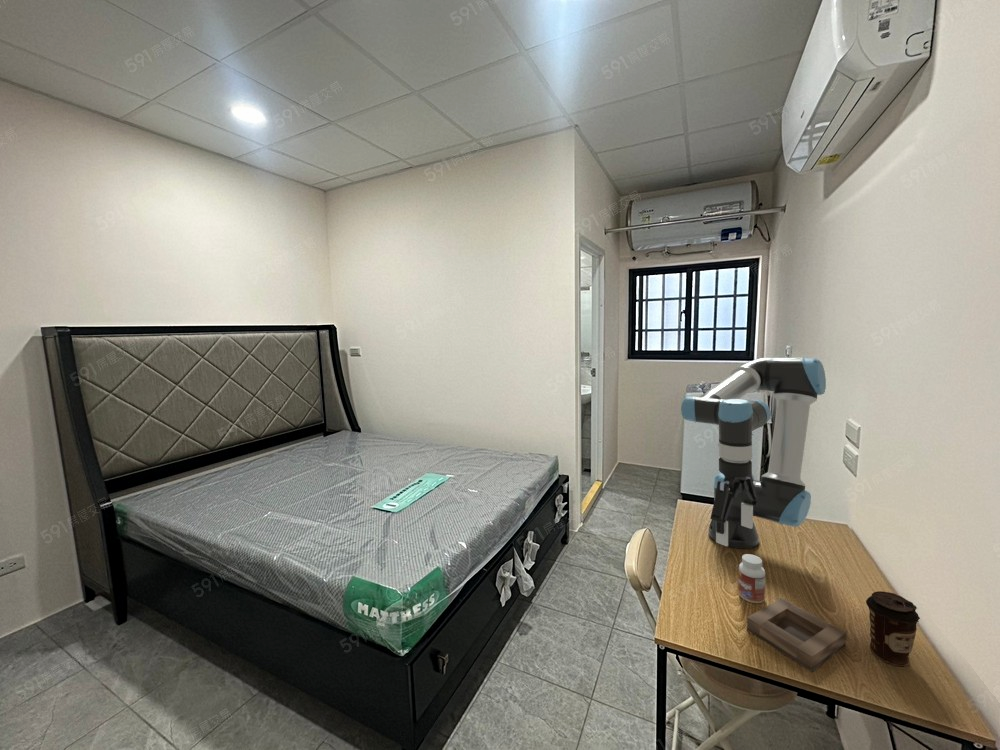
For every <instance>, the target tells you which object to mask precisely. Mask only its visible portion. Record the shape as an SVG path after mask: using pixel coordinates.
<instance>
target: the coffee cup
mask: <svg viewBox="0 0 1000 750" xmlns="http://www.w3.org/2000/svg"><path fill="white" fill-rule="evenodd" d="M865 604H866V605H867V607H868V611H869V612H868V613H869V614H868V615H869V624H870V625H869V626H870V627H869V631H870V632H869V636H870V643H869V648H870V650H871V653H872V654H873V655H874V656H876V657H877V658H878V659H880V660H881V661H883V662H884V663H888V664H891V665H894V666H897V667H898V666H900V667H902V666H903V667H904V666H907V665H909V663H910V658H909V657H910V654H911V653H912V651H913V647H914V643H915V641H914V640H915V639H916V633H917V623H918V622H919V620H920V619H921V618H920V616H919V614H918V613H917V611H916V610H918V607H917V606H916V605H915V604H914V603H913V602H912V601H910V600H908V599H906V598H905V597H903V596H901V595H899V594H897V593H894V592H893V593H892V592H889V591H874V592H873V593H871V596H869V597H868V598H866V601H865Z"/></svg>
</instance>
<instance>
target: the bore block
mask: <svg viewBox="0 0 1000 750" xmlns="http://www.w3.org/2000/svg"><path fill="white" fill-rule="evenodd" d="M746 620H747V621H746V631H747V632H749V633H750V634H751V635H753V636H755V637H756V638H758V639H760V640H762V641H763V642H765V644H768V645H769V646H771V647H772V648H773V649H776V651H778V652H780V653H781V654H783V655H784V656H787V657H788V658H789V659H791V660H792V661H794V662H796V663H797V664H799V665H800V666H802V667H803V666H804V667H803V668H805V669H806V668H807V669H806V670H808V669H809V670H808V671H809V672H811V671H812V672H814V671H815V670H817V669H818V668H819V667H821V665H823V664H824V663H826V662H827V661H828V660H830V659H831V658H833V656H835V655H836V654H838V653H839V652H841V651H842V650H843V649H845V648H846V647H847V631H845V630H842V629H841V628H839V627H837V626H835V625H834V624H831V623H829V622H828V621H825V620H824V619H822V618H820V617H818V616H816V615H814V614H812V613H811V612H809V611H807V610H805V609H803V608H801V607H799V606H797V605H795V604H794V603H791V602H790V601H787V600H786V599H784V598H782V597H780V598H779V599H777V600H775V601H773V602H772V603H770V604H768V605H766V606H764V607H763V608H761V609H759V610H757V611H756V612H753V613H752V614H750V615H749V616H747V617H746ZM813 670H814V671H813Z"/></svg>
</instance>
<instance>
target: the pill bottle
mask: <svg viewBox="0 0 1000 750" xmlns="http://www.w3.org/2000/svg"><path fill="white" fill-rule="evenodd" d="M738 595H739V597H741V599H743V600H744V601H746V602H749V603H752V604H760V603H763V602H764V601H765V598H766V570H765V569H764V567H763V560H762V558H761V557H759V556H757V555H755V554H750V553H745V554H742V556H741V562H740V563H739V566H738Z"/></svg>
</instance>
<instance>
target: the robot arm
mask: <svg viewBox="0 0 1000 750" xmlns="http://www.w3.org/2000/svg"><path fill="white" fill-rule="evenodd" d="M825 372H826V371H825V368H824V365H823V363H822V362H821V361H820V360H819V359H817V358H813V357H811V358H810V357H804V356H803V357H769V356H767V357H761V358H756V359H753V360H751V361H747V362H745V363H742V364H741V365H739V366H738V367H736V368H735V369H733V370H732V372H730V375H729V376H728V377H727V378H725V379H723V381H721V382H719V383H717V384H716V385H715V386H713V387H712V388H711V389H709V390H708V391H706V392H704V393H703V394H701V396H695V395H693V396H686V397H684V398H683V400H682V402H681V405H680V413H681V414H680V415H681V416H682V418H683V419H684V420H686V421H690V422H694V423H702V424H708V425H716V426H717V425H718V443H717V447H718V456H719V458H718V471H719V473H717V474H715V477H714V481H713V482H714V483H713V484H714V485H713V498H714V499H713V501H714V502H713V506H712V510H711V515H710V523H709V526H708V535H709V537H710V539H712V540H713V541H714V542H715V543H716V544H719V545H722V546H724V547H730V548H735V549H743V550H744V549H751V548H754V547H757V546H758V544H759V542H760V541H759V538H760V537H759V536H760V535H759V533H758V529H757V528H756V525H755V521H754V517H755V518H756V517H757V518H760V519H764V520H766V521H770V522H773V523H776V524H779V525H783V526H789V527H792V528H797V527H800V526H801V525H802V524H803V523H804V521H805V520H806V519H807V516H808V514H809V510H810V507H811V505H812V504H811V503H812V500H811V499H812V495H811V493H810V492H809V491H808V490H806V484H805V483H804V482H803V480H802V479H801V473H802V469H803V467H802V466H803V460H804V454H805V445H806V444H805V443H806V437H807V431H808V430H807V429H808V422H809V416H810V410H811V409H810V408H811V405H812V404H814V403H815V402H817V400H818V396H822V395H824V394H825V392H826V389H827V388H826V387H827V385H826V383H827V382H826V381H827V379H826V373H825ZM756 391H765V392H766V391H767V392H768V391H769V392H773V397H774V398H775V399H776V400H777V407H776V414H775V420H774V426H773V427H774V428H773V435H772V441H771V450H770V454H769V455H770V456H769V462H768V463H769V464H768V469H767V472H765V473H764V474H762V475H761V479H760V480H756V479H755V477H754V475H753V473H752V472H753V469H752V467H753V464H752V463H753V461H751V460H752V459H753V431H755V430H757V429H759V428H762V427H763V426H764V425H766V424H767V423H768V422H769V420H770V419H771V416H772V413H771V408H770V407H769V406H768V404H767V403H766V402H764V401H762V400H761V399H748V400H746V399H743V397H744V396H745V395H747V394H751V393H754V392H756ZM741 398H742V399H741Z"/></svg>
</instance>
